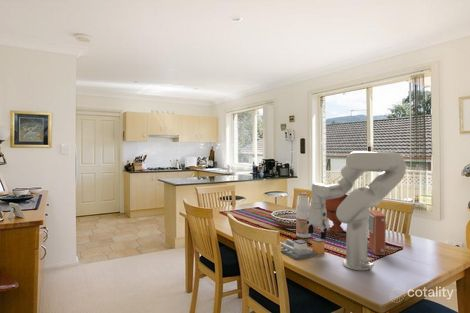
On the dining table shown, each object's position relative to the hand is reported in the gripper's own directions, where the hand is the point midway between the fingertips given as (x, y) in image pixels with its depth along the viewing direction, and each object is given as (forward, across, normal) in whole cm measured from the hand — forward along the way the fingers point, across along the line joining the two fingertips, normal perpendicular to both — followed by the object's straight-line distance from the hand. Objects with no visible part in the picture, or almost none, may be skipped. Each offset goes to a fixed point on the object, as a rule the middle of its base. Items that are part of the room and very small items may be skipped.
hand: (316, 236), depth 166 cm
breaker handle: (+7, +1, +11) cm, 13 cm away
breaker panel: (+9, +7, +11) cm, 16 cm away
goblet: (+10, +25, -42) cm, 50 cm away
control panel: (+8, -15, -30) cm, 35 cm away
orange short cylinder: (+9, -1, 0) cm, 9 cm away
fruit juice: (+10, +26, -13) cm, 31 cm away
